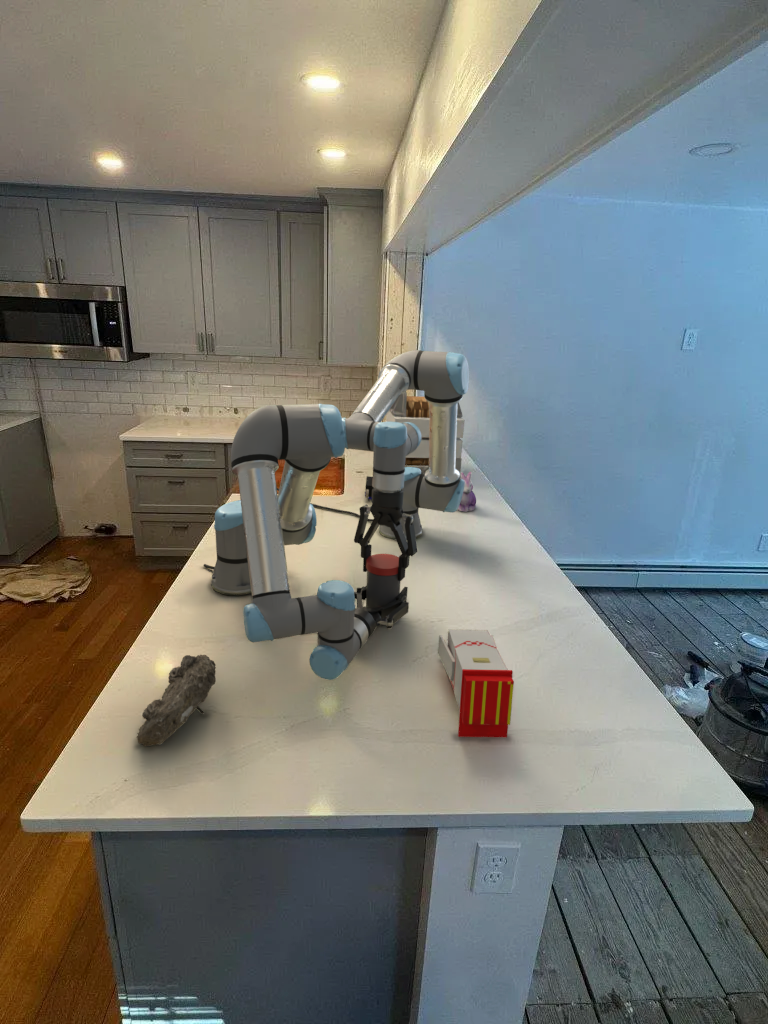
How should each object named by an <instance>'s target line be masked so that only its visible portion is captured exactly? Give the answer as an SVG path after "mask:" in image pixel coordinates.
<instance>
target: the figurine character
mask: <svg viewBox="0 0 768 1024" xmlns="http://www.w3.org/2000/svg"><path fill="white" fill-rule="evenodd" d="M372 479H373V476H368V475H367V476H366V479H365V489H364V490H365V491H364V498H365V499H367V502H370V501H371V500H372V489H373V488H374V487H373V486H372Z"/></svg>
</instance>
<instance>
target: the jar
mask: <svg viewBox="0 0 768 1024" xmlns="http://www.w3.org/2000/svg"><path fill="white" fill-rule="evenodd" d="M365 586H366V599H365V607H368V608H376V607H378V606H380V607H382V606H385V605H387V604H389V603H392V602H394V601H396V597H397V596H398V595H399V593H400V592H401V581H398V574H395V575H390V576H381V575H376V574H373V573H371V572H369V571H368V570H367V572H366V584H365ZM385 618H386V617H385ZM383 619H384V618H383ZM380 626H383V625H382V624H381V625H380Z"/></svg>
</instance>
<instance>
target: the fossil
mask: <svg viewBox="0 0 768 1024" xmlns="http://www.w3.org/2000/svg"><path fill="white" fill-rule="evenodd" d="M216 666H217V664H216V663H215V661H214V660H213V659H211V658H210V657H209V656H208V655H206V654H197V656H193V655H189V654H187V655H184V656H183V657H182V660H181V661H180V666H177V667H176V666H175V667H173V668H172V669H171V670H170V671H169V673H168V683H169V684H168V685H167V687H166V688H165V689H164V690H165V691H163V693H162V695H161V699H154V700H152V702H151V703H149V704H148V705H147V706H146V708H144V709H143V712H142V716H141V717H142V718H143V719H145V721H144V722H143V724H142V725H141V726H140V727H139V728H138V732H137V734H136V735H137V736H136V739H137V742H138V744H140V745H141V744H142V745H143V746H144V747H150V746H151V747H152V746H156V745H159V746H160V745H162V744H163V743H164V742H165V741H167V740H168V739H169V738H170V737H171V736H172V735H174V734H175V732H176V731H177V730H178V729H179V728H181V727H182V726H183V725H184V724H185V723H187V720H188V719H190V715H192V714H194V712H195V711H196V710H197V711H198V712H199V713H200V714H201V715H203V714H205V712H204V710H203V709H202V708H200V706H199V705H200V703H203V702H204V701H205V700H206V699H207V698H208V695H209V693H210V691H211V689H212V687H213V686H214V685H215V684H216V682H217V680H216V672H217V671H216V669H217V667H216Z"/></svg>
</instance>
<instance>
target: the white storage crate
mask: <svg viewBox="0 0 768 1024" xmlns="http://www.w3.org/2000/svg"><path fill="white" fill-rule="evenodd" d="M407 394H408V393H407V391H406V392H404V393H403V394H401V395H399V396H398V398H397V399H396V401H395V402H394V404H393V405H392V407H391V408H390V410H389V411H388V413H387V414H386V416H385V422H399V423H403V422H410V423H413V424H415V425H416V426H417V427H418V428H419V430H420V432H421V442H420V444H419V446H418V447H417V449H416V450H415V451H414V452H412V453H410V454H409V455H407V456H406V459H405V466H406V467H417V466H418V467H429V402H428V401H427V400H425V398H424V396H415V395H414V396H413V395H412V396H411V395H407ZM464 429H465V419H464V418H463V411H462V408H461V405H460V401H459V402H458V403H457V432H456V462H455V469H456V470H458V471H459V473H460V475H461V472H462V461H463V460H462V453H463V442H464V441H463V440H462V439H463V438H464V431H465V430H464Z"/></svg>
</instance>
